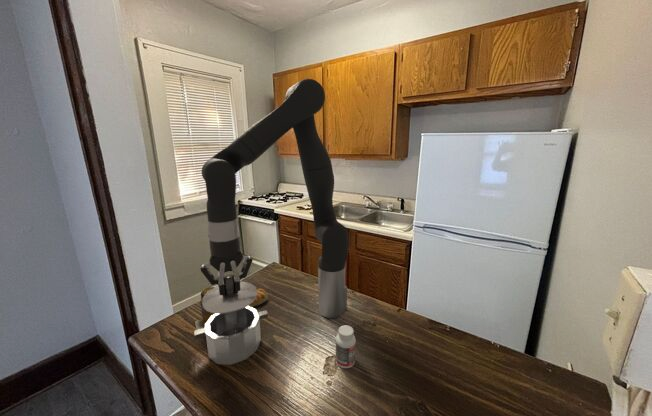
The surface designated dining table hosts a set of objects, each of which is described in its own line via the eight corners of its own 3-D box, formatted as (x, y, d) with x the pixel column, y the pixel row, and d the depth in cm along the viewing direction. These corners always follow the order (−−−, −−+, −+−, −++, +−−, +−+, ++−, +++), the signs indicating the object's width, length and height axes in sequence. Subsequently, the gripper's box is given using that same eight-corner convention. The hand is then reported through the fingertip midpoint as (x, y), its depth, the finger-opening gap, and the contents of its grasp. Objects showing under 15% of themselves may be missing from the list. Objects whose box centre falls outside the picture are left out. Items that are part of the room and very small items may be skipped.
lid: (251, 283, 80) (250, 261, 79) (262, 307, 68) (260, 282, 66) (202, 294, 74) (199, 271, 72) (203, 324, 61) (200, 297, 60)
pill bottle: (352, 371, 65) (353, 339, 63) (333, 366, 67) (333, 334, 64) (356, 355, 70) (357, 325, 68) (338, 351, 72) (338, 321, 69)
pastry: (249, 312, 89) (249, 302, 88) (238, 305, 93) (237, 296, 92) (269, 299, 96) (269, 290, 95) (258, 294, 100) (257, 285, 99)
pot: (262, 319, 85) (261, 298, 83) (274, 349, 72) (273, 325, 70) (197, 339, 76) (194, 316, 74) (198, 376, 64) (194, 350, 62)
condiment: (226, 325, 82) (222, 292, 79) (197, 335, 78) (193, 301, 75) (221, 313, 88) (218, 282, 85) (194, 322, 84) (190, 290, 81)
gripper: (248, 227, 73) (252, 281, 77) (194, 235, 66) (202, 293, 70) (254, 235, 66) (258, 294, 70) (194, 244, 60) (203, 308, 64)
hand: (230, 293), depth 70 cm, fingers closed on lid, 3 cm apart
